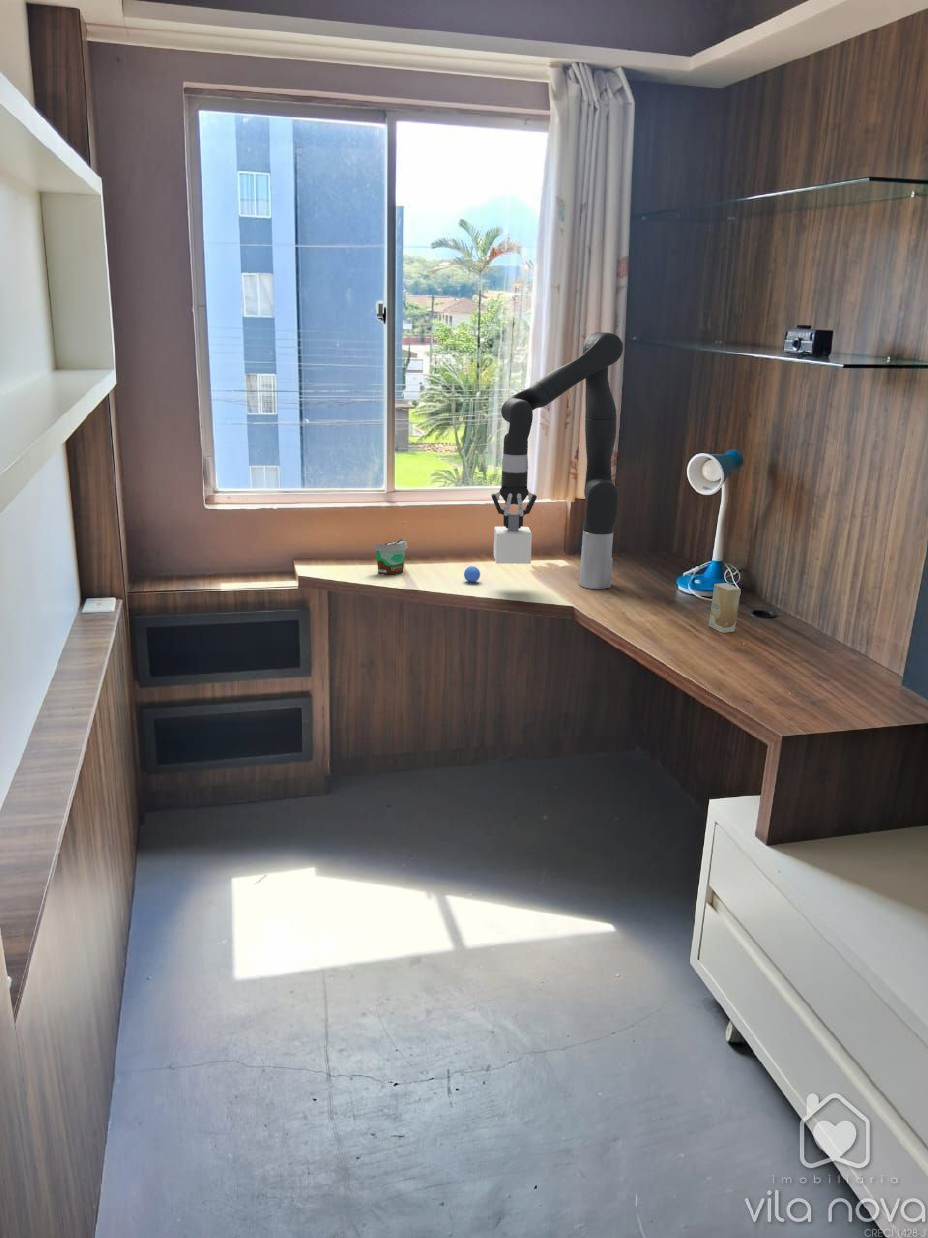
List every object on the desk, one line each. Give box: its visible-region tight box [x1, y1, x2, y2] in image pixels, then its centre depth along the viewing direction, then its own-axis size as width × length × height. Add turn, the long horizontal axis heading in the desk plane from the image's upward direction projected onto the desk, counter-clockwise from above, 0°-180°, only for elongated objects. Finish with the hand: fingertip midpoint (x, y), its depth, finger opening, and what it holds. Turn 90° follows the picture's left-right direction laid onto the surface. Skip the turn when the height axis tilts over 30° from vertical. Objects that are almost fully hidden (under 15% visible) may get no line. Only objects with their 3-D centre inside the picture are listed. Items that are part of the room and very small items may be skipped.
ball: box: [463, 565, 481, 583], centre depth 293 cm, size 5×5×5 cm
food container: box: [374, 537, 408, 576], centre depth 299 cm, size 12×6×10 cm, turn 143°
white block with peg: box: [493, 512, 533, 565], centre depth 280 cm, size 10×10×14 cm
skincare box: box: [708, 582, 742, 634], centre depth 255 cm, size 6×4×12 cm
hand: (512, 527), depth 279 cm, fingers closed on white block with peg, 3 cm apart
